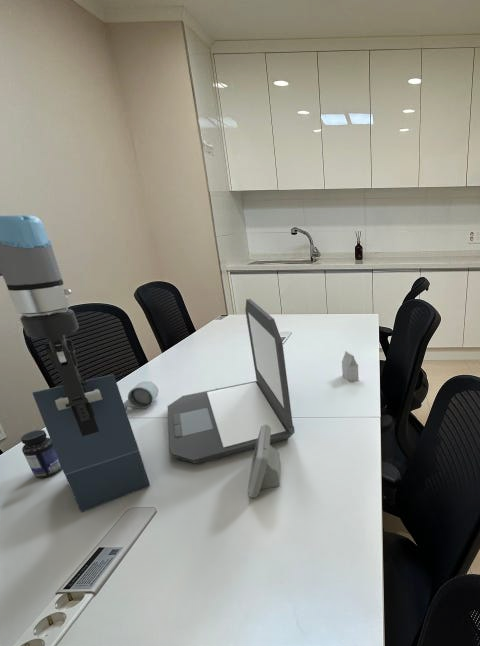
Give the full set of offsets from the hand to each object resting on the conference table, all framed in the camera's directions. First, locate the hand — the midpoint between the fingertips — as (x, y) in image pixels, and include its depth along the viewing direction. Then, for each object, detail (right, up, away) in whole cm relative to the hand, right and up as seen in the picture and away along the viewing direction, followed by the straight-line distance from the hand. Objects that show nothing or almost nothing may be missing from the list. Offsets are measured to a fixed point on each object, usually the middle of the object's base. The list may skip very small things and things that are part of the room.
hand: (88, 424), depth 77 cm
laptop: (+11, -4, +44) cm, 45 cm away
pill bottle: (-26, -15, +22) cm, 37 cm away
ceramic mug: (-22, +1, +56) cm, 60 cm away
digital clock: (+30, -15, +17) cm, 38 cm away
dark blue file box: (-7, -16, +18) cm, 25 cm away
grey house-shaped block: (+48, +10, +72) cm, 88 cm away
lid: (-4, 0, +5) cm, 7 cm away
